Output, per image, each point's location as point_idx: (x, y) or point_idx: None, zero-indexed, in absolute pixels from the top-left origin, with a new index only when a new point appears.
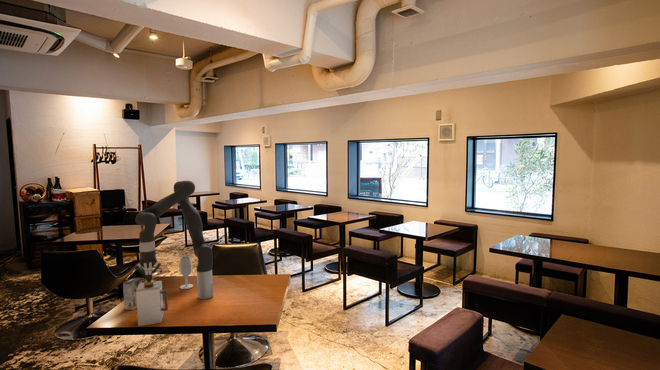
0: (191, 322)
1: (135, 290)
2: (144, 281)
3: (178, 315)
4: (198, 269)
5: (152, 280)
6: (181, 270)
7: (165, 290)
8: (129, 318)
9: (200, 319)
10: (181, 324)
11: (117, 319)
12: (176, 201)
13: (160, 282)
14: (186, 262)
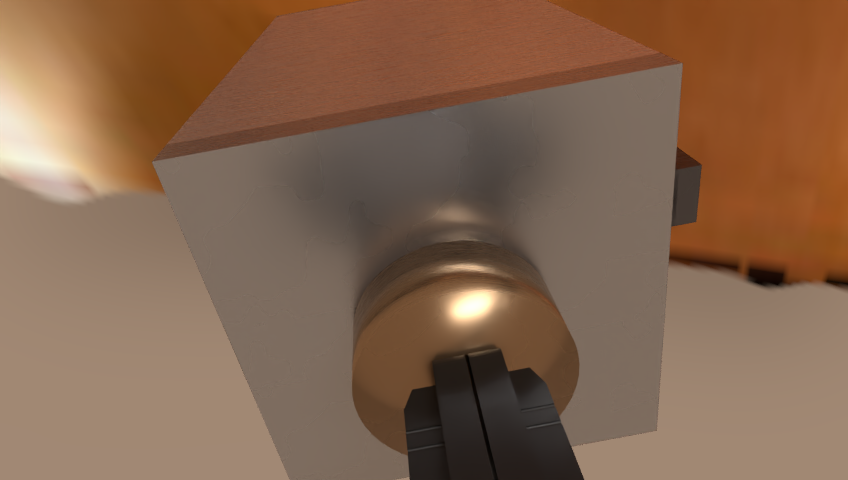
0: (748, 212)
1: None
2: (363, 400)
3: (647, 45)
4: None
5: (538, 363)
6: None
7: (679, 206)
8: (147, 15)
9: (822, 171)
10: (673, 232)
11: (16, 14)
12: None
13: (661, 207)
14: None
